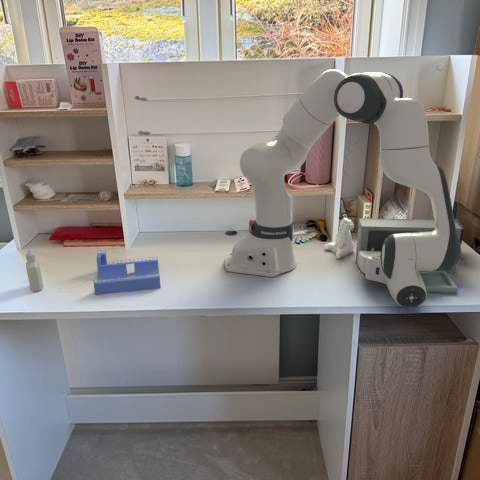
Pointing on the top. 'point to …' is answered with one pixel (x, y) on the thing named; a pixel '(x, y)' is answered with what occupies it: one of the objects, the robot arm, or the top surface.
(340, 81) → the robot arm
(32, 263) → the eye dropper bottle
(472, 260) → the top surface
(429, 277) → the tray
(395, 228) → the printer housing
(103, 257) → the blue plastic stand
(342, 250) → the seated beast figurine
